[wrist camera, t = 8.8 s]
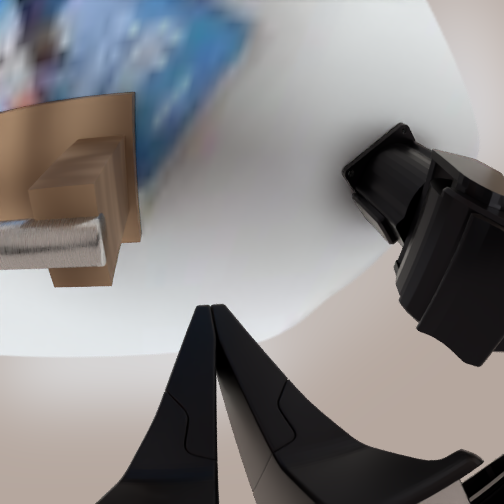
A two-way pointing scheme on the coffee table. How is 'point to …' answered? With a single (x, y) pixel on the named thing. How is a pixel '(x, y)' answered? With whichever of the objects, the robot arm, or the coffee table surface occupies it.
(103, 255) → the pipe
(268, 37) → the coffee table surface
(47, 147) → the stand
